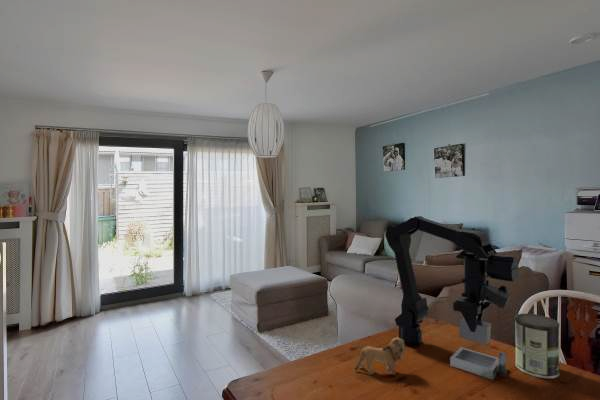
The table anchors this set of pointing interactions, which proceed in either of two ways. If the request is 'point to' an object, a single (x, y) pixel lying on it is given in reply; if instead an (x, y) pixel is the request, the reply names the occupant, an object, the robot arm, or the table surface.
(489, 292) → the robot arm
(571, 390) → the table surface
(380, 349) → the lion figurine
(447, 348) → the table surface
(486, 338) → the block
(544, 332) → the coffee can
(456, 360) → the keeper cradle
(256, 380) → the table surface
